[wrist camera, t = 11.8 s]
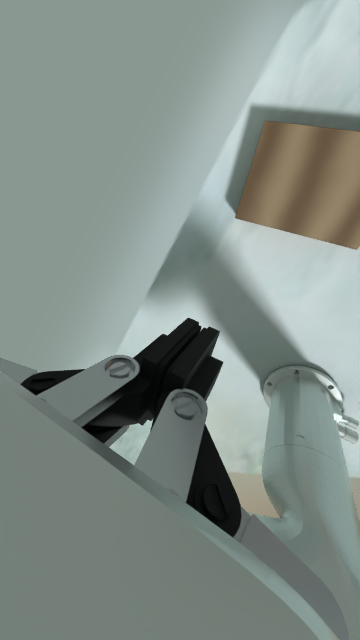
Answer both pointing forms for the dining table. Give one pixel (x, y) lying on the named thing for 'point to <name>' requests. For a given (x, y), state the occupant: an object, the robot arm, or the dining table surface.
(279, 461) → the robot arm
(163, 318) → the dining table surface
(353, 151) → the board
